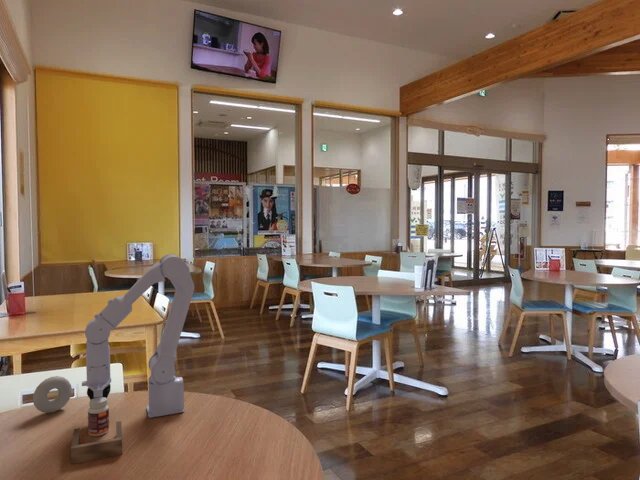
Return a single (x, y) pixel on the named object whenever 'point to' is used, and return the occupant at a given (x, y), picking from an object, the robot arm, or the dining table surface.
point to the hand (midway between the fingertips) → (99, 414)
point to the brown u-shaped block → (96, 447)
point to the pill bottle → (98, 416)
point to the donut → (43, 390)
